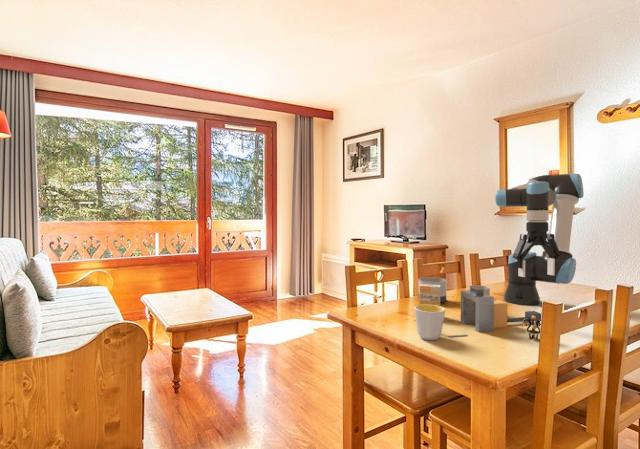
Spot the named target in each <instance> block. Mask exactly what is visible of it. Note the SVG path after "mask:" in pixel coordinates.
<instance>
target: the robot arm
mask: <svg viewBox="0 0 640 449" xmlns="http://www.w3.org/2000/svg"><path fill="white" fill-rule="evenodd" d="M584 193H585V192H584V184H583V178H582V176H581V174H579V173H570V172H569V173H562V174H561V173H560V174H544V175H543V174H542V175H538V176H535V177H532V178H530V179H527V180H525V181H523V182H522V183H521V184H519V185H516V186H514V187H511V188H506V189H505V188H504V189H498V190H496V193H495V196H494V197H495V198H494V199H495V201H494V202H495V204H496V206H498V207H504V208H507V207H508V208H509V207H511V208H512V207H526V219H525V220H526V221H527V222H526V223H525V224H526V226H525V228H526V229H525V230H526V232H527V234H525V233H520V235H519V240H518V242H517V244H516V247H515V249H514V252H513V253H512V254H509V255H508V262H507V266H508V267H507V268H508V269H507V271H508V272H507V275H508V276H507V286H506V289H505V292H504V294H503V300H504V302H506V303H510V304H516V305H521V306H522V305H523V306H524V305H527V306H533V305H539V304H540V303H541V298H540V295H539V292H538V289H537V286H536V284H537V282H542V283H543V282H544V283H552V284H557V285H559V284H561V285H568V284H570V283H572V282H573V279H574V277H575V275H576V269H577V267H576V266H577V260H576V258H574V257H573V256H574V255H573V254H572V252H570V245H571V237H572V228H573V219H574V209H575V205H577V204H578V203H579V200H580V199H582V198H584V195H585V194H584ZM550 206H551V207H552V208H551V216H549V215H550V214H549V212H550V211H549V210H550ZM549 218H550V219H549ZM549 220H550V223H549V222H548V221H549ZM535 246H536V247H537V246H540V247H542V249H543V250H542V253H541V254H542V255H537V252H532V251H531V249H532V248H533V247H535Z"/></svg>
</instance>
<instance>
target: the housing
mask: <svg viewBox="0 0 640 449" xmlns="http://www.w3.org/2000/svg"><path fill="white" fill-rule="evenodd" d="M494 300H495V296H493V295H491V294H490V295H487V294H485V293H484V289H481V288H479V287H470V290H467V289H466V290H460V323H461V324H463V325H466V324H475V326H474V327H475V328H474V330H475V331H476V332H478V333H484V332H486V333H487V332H494V330H495V328H494Z"/></svg>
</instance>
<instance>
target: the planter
mask: <svg viewBox="0 0 640 449" xmlns="http://www.w3.org/2000/svg"><path fill="white" fill-rule="evenodd" d="M420 284H429V285H441V289H440V304H441V303H443V302H445V301H446V300H447V279H446V278H441V277H435V276H432V277H431V276H427V277H426V276H425V277H420V278H418V293H417V294H418V295H417V296H418V299H419V296H420Z"/></svg>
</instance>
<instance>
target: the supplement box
mask: <svg viewBox="0 0 640 449" xmlns="http://www.w3.org/2000/svg"><path fill="white" fill-rule="evenodd" d="M440 289H441V285H429V284H420V296H419V298H418V299H419V302H418V303H419V304H418V305H421V304H430V305H437V306H441V303H440Z"/></svg>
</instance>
